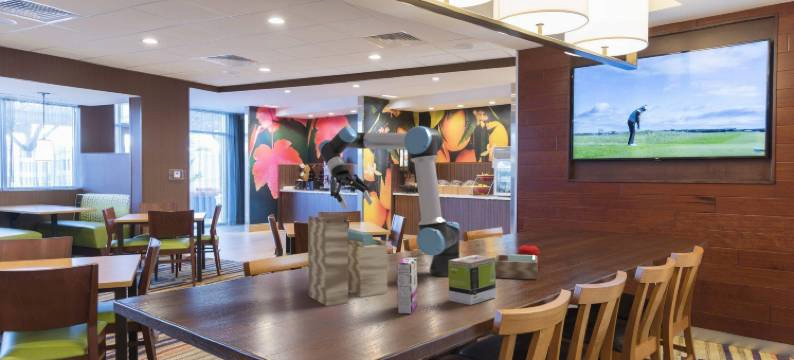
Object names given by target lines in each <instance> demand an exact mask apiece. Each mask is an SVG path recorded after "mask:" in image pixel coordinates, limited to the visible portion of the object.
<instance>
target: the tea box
mask: <svg viewBox="0 0 794 360" xmlns="http://www.w3.org/2000/svg"><path fill="white" fill-rule="evenodd" d="M495 257H496V256H495ZM495 257H493V256H486V255H475V254H472V255H467V256H462V257H461V256H460V258H457V259H452V260H448V270H449V276H448V296H449V297H448V301H450V302H454V303H459V304H465V305H469V306H472V305H474V304H478V303H483V302H484V301H485V302H486V301H488V300H491V299H495V298H497V287H496V286H497V285H496V284H497V283H496V279H497V278H496V277H495Z"/></svg>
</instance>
